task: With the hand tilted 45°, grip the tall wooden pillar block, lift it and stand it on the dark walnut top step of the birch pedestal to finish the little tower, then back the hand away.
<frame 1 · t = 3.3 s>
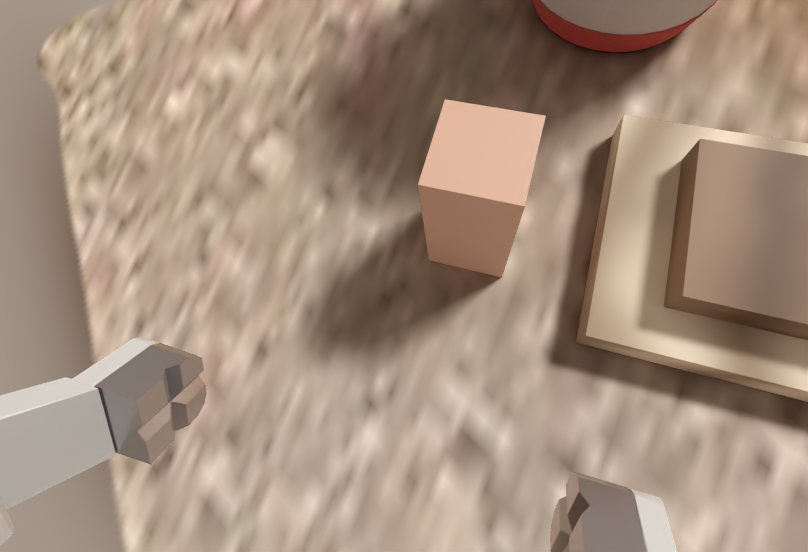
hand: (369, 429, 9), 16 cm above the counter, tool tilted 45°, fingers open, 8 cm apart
pillar block: (473, 235, 27), on the counter
stepped pedestal: (741, 261, 25), on the counter
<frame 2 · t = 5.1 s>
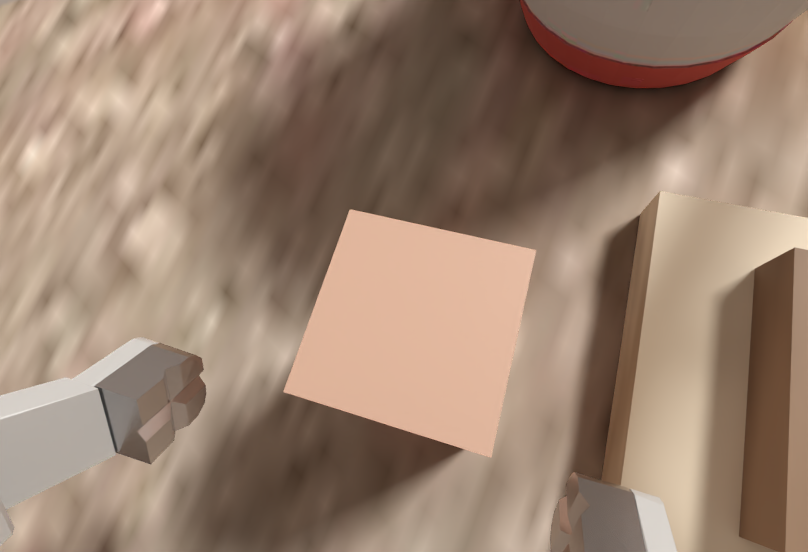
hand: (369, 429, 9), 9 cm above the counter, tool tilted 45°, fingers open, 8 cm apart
pillar block: (432, 370, 18), on the counter
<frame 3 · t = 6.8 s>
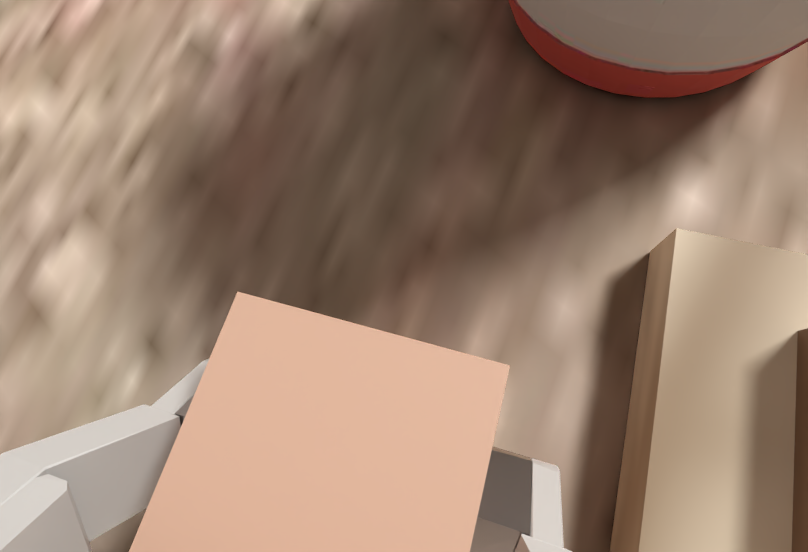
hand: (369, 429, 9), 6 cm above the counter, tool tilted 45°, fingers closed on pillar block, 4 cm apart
pillar block: (395, 447, 15), on the counter, touching gripper
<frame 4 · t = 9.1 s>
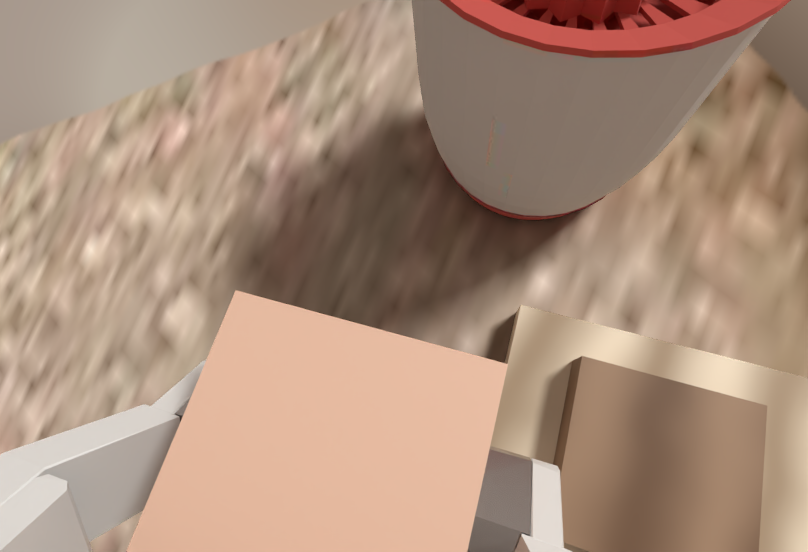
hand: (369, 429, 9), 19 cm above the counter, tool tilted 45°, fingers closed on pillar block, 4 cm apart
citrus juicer: (526, 142, 33), on the counter
pillar block: (394, 446, 15), point 13 cm above the counter, touching gripper
stepped pedestal: (628, 462, 25), on the counter
when the fingers open (11 cm above the counter, at t = 11.8 s): pillar block stays where it is, resting on stepped pedestal.
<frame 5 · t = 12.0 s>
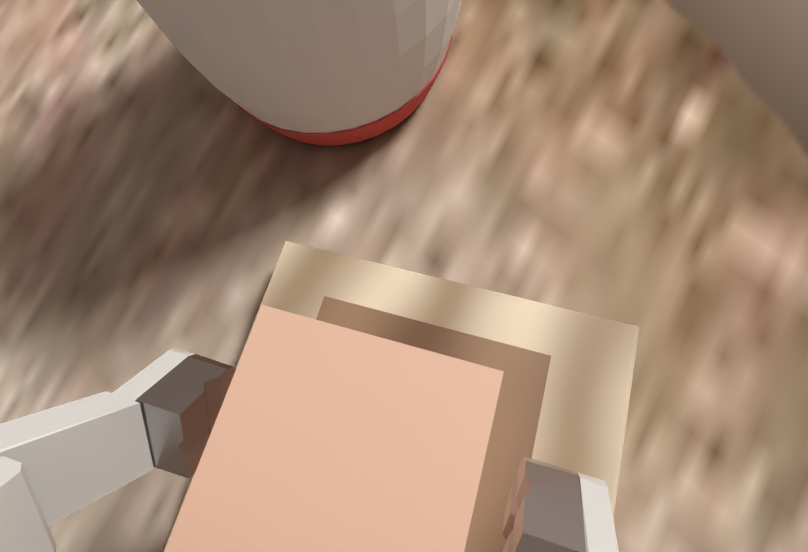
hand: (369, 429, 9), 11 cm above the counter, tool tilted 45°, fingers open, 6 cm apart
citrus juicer: (344, 59, 27), on the counter
pillar block: (399, 444, 16), point 4 cm above the counter, touching stepped pedestal
stepped pedestal: (409, 440, 19), on the counter
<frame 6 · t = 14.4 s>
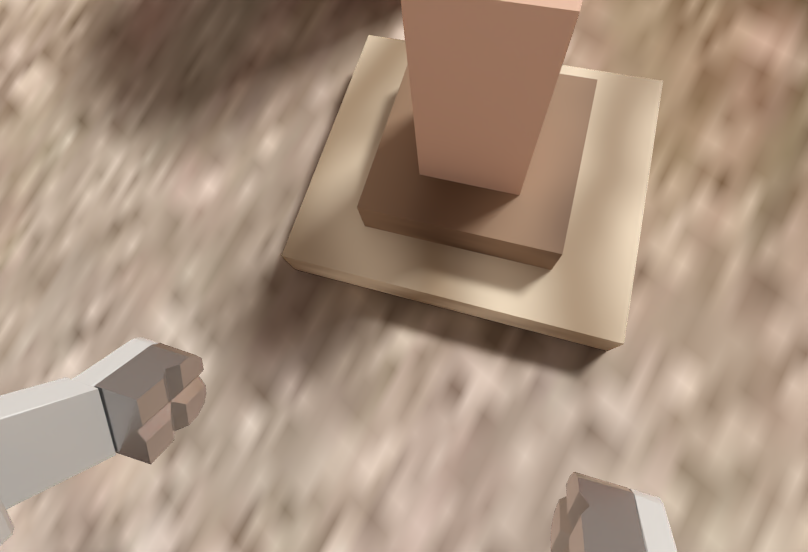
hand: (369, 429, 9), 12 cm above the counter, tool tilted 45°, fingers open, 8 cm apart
pillar block: (480, 142, 20), point 4 cm above the counter, touching stepped pedestal
stepped pedestal: (474, 186, 24), on the counter
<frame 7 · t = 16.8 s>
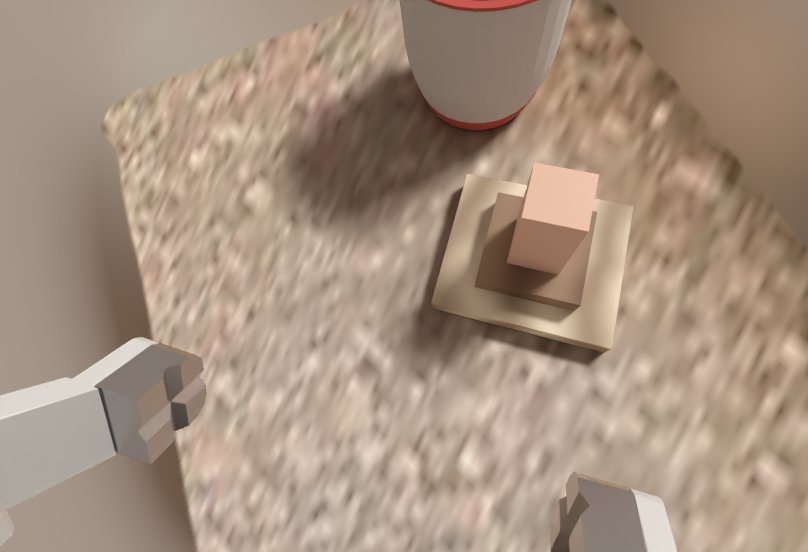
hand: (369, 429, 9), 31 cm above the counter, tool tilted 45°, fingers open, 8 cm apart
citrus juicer: (476, 85, 50), on the counter
pillar block: (537, 245, 39), point 4 cm above the counter, touching stepped pedestal
stepped pedestal: (529, 261, 43), on the counter
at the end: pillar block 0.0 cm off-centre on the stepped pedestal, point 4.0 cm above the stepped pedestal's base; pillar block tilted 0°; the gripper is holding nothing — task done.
